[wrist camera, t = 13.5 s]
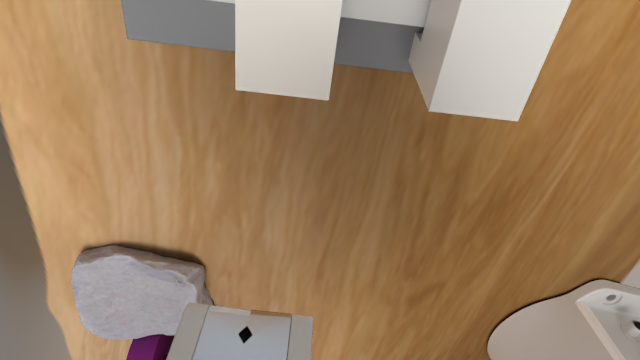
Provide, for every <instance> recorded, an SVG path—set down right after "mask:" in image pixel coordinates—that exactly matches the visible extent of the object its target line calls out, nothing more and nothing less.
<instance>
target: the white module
mask: <svg viewBox="0 0 640 360" xmlns="http://www.w3.org/2000/svg"><path fill="white" fill-rule="evenodd" d="M342 1H343V0H235V84H236V90H241V91H250V92H258V93H267V94H276V95H284V96H293V97H302V98H310V99H319V100H328V101H329V94H330V87H331V80H332V73H333V66H334V58H335V51H336V44H337V37H338V29H339V22H340V15H341V8H342Z"/></svg>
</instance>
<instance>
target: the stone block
mask: <svg viewBox="0 0 640 360" xmlns="http://www.w3.org/2000/svg"><path fill="white" fill-rule="evenodd" d="M204 282H205V269H204V267H203V266H202V265H199V264H197V263H194V262H188V261H183V260H179V259H175V258H171V257H164V256H161V255H157V254H154V253H152V252H147V251H141V250H137V249H132V248H125V247H121V246H117V245H109V246H105V247H98V248H95V249H89V250H86V251H83V252H82V253H81V254H80V255H79V256H78V258H77V260H76V262H75V265H74V268H73V270H72V274H71V285H72V287H73V292H74V298H75V303H76V307H77V310H78V311H79V313H80V320H81V323H82V324H83V326H84V327H85V328H86V329H87V330H88V331H90V332H92V333H93V334H94V335H96V336H99V337H102V338H105V339H119V340H120V339H138V338H142V337H145V336H149V335H156V334H164V335H175V334H176V331H177V328H178V326H179V323H180V320H181V318H182V315H183V312H184V309H185V308H186V306H187V305H188V303H198V304H206V305H213V302H212V300H211V297H210V295H209V293H208V291H207V289H206V288H205V285H204ZM213 306H214V305H213Z"/></svg>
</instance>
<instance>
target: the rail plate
mask: <svg viewBox="0 0 640 360" xmlns="http://www.w3.org/2000/svg"><path fill="white" fill-rule="evenodd" d="M121 1H122V8H123V14H124V20H125V27H126V33H127V39H131V40H140V41H148V42H156V43H165V44H173V45H182V46H190V47H198V48H207V49H215V50H223V51H232V52H235V0H121ZM430 3H431V0H343V1H342V8H341V15H340V22H339V29H338V37H337V44H336V51H335V58H334V64H341V65H349V66H357V67H366V68H374V69H383V70H391V71H399V72H408V73H413V71H412V69H411V66H410V64H409V61H408V60H409V56H410V52H411V48H412V44H413V40H414V36H415V32H417V33H423V30H424V26H425V23H426V19H427V15H428V11H429V7H430Z"/></svg>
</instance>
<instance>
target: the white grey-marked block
mask: <svg viewBox="0 0 640 360" xmlns="http://www.w3.org/2000/svg"><path fill="white" fill-rule="evenodd" d="M570 2H571V0H431V3H430V7H429V11H428V15H427V19H426V23H425V26H424V30H423V33H417V32H415V36H414V40H413V44H412V48H411V52H410V56H409V60H408V61H409V64H410V66H411V69H412V71H413V74H414V76H415V78H416V81H417V83H418V86H419V88H420V91H421V93H422V96H423V98H424V101H425V103H426V106H427V108H428V111H432V112H441V113H449V114H458V115H467V116H475V117H484V118H493V119H501V120H510V121H518V120H519V118H520V115H521V113H522V111H523V109H524V106H525V104H526V102H527V99H528V97H529V95H530V93H531V90H532V88H533V86H534V84H535V81H536V79H537V77H538V75H539V72H540V70H541V68H542V66H543V63H544V61H545V59H546V56H547V54H548V52H549V50H550V47H551V45H552V43H553V41H554V38H555V36H556V34H557V32H558V29H559V27H560V25H561V23H562V20H563V18H564V16H565V14H566V11H567V9H568V7H569V4H570Z"/></svg>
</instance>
